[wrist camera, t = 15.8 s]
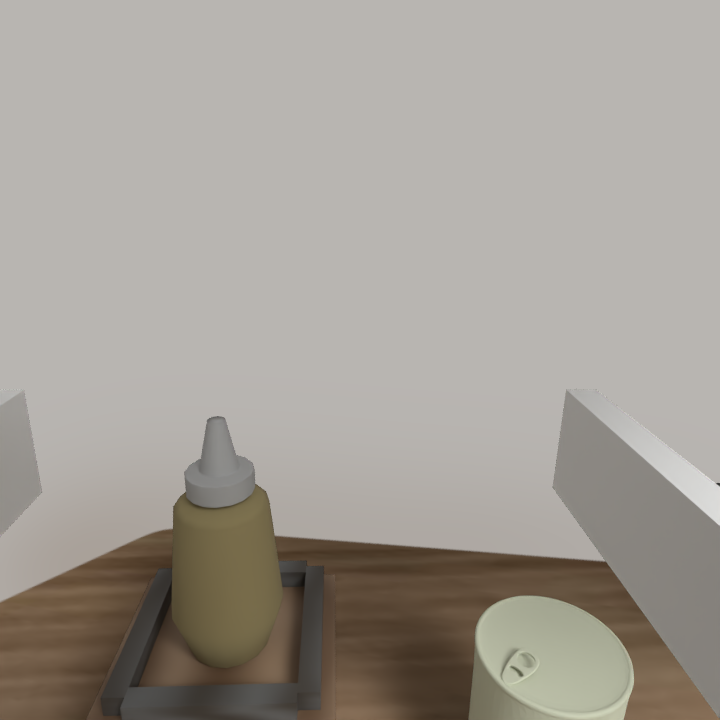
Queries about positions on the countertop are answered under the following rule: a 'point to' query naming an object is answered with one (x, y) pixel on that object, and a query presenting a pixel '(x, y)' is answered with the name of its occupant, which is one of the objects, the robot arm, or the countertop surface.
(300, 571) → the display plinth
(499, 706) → the can
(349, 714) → the countertop surface
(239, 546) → the squeeze bottle
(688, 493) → the robot arm
